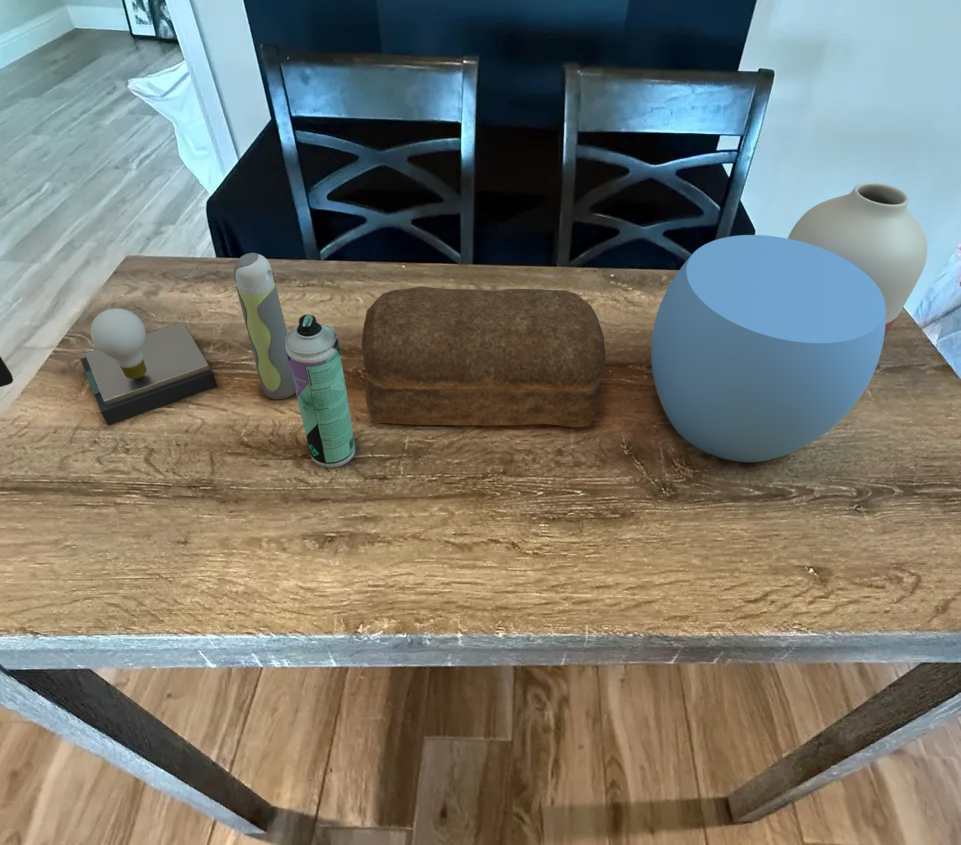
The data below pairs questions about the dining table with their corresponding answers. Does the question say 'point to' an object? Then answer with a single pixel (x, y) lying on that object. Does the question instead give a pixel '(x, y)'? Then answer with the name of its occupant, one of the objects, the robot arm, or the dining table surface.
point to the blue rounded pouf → (764, 345)
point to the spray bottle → (264, 324)
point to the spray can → (321, 391)
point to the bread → (482, 357)
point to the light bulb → (121, 339)
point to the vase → (871, 239)
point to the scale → (150, 375)
